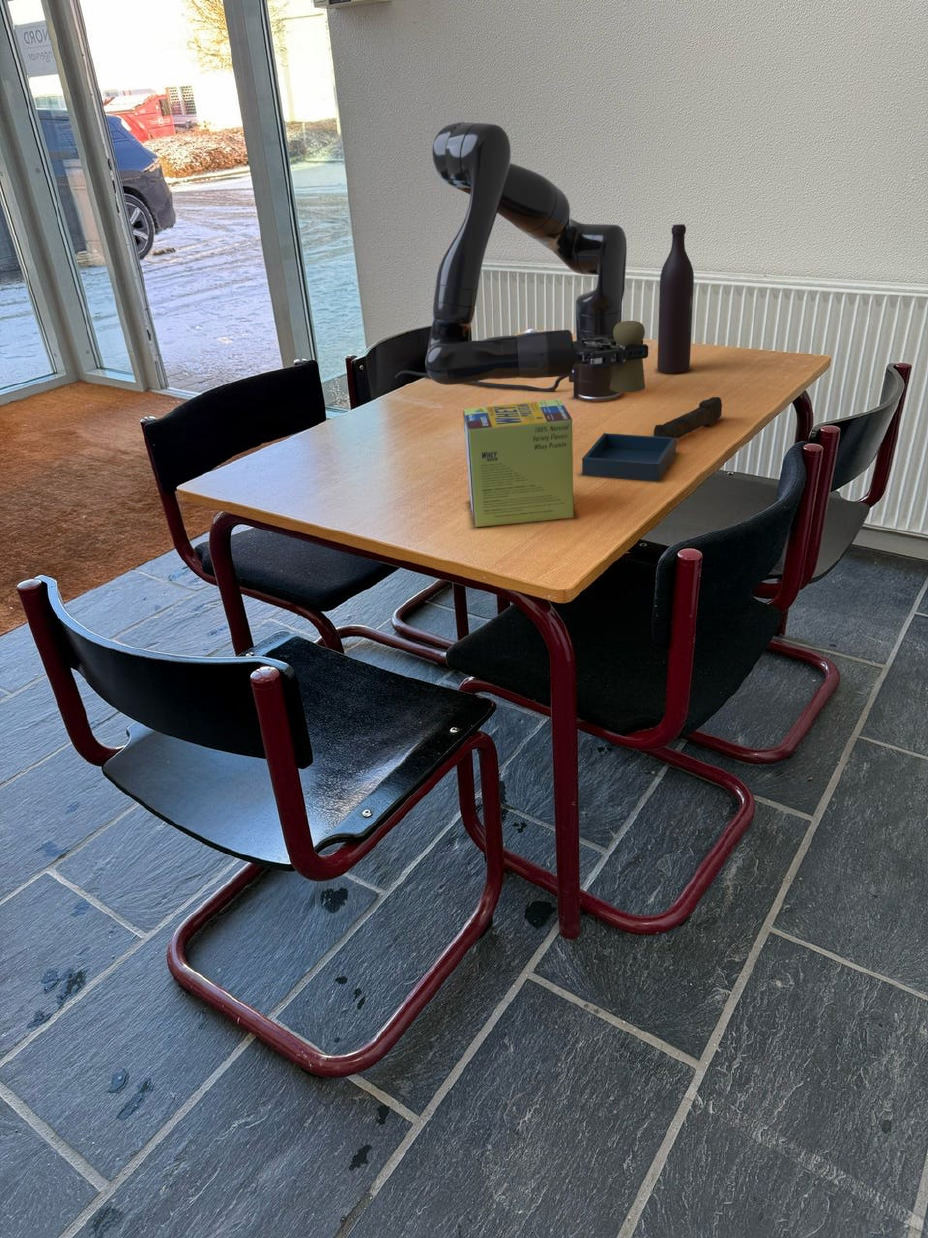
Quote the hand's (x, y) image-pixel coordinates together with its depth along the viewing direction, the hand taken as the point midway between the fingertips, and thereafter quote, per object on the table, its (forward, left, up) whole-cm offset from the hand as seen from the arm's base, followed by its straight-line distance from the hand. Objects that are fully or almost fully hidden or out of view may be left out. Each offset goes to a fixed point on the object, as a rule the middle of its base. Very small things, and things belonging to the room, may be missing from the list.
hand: (644, 347), depth 153 cm
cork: (-2, -1, -7) cm, 7 cm away
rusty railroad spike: (+6, +10, -18) cm, 22 cm away
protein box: (-12, -31, -18) cm, 38 cm away
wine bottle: (-6, +50, -18) cm, 53 cm away
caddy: (0, -8, -18) cm, 20 cm away
